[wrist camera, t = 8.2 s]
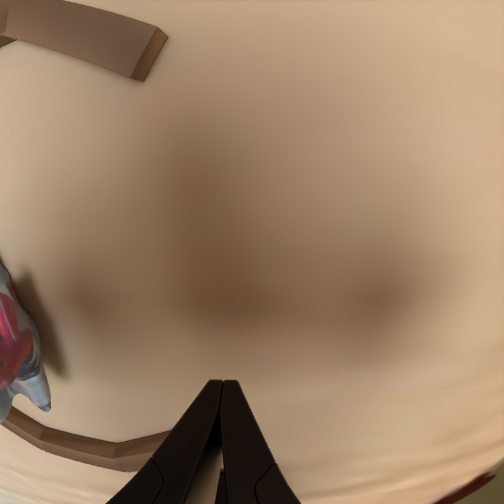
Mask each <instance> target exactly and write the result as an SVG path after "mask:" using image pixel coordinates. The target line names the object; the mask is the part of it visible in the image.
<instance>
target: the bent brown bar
mask: <svg viewBox="0 0 504 504" xmlns="http://www.w3.org/2000/svg"><path fill="white" fill-rule="evenodd" d="M167 38H168V36H167V35H166V34H165V33H164V32H163V31H161V30H160V29H159V28H158V27H156V26H153V25H150V24H147V23H144V22H141V21H138V20H135V19H132V18H129V17H126V16H122V15H119V14H116V13H112V12H109V11H105V10H101V9H97V8H94V7H90V6H85V5H81V4H77V3H72V2H68V1H63V0H0V47H2V46H4V45H6V44H8V43H10V42H12V41H14V40H17V39H18V40H21V41H25V42H28V43H32V44H35V45H39V46H42V47H45V48H48V49H52V50H55V51H58V52H61V53H64V54H67V55H70V56H73V57H76V58H79V59H81V60H84V61H87V62H90V63H93V64H95V65H98V66H101V67H103V68H106V69H109V70H111V71H114V72H116V73H119V74H121V75H124V76H126V77H129V78H132V79H136V80H140V81H143V82H144V80H145V78H146V76H147V74H148V72H149V70H150V68H151V66H152V64H153V63H154V61H155V59H156V57H157V55H158V53H159V52H160V50H161V48H162V46H163V45H164V43H165V41H166V39H167ZM1 425H3V426H4V427H6V428H7V429H9V430H10V431H12V432H13V433H15V434H16V435H18V436H19V437H21V438H23V439H24V440H26V441H28V442H29V443H31V444H33V445H34V446H36V447H38V448H39V449H41V450H44V451H45V452H48V453H51V454H54V455H58V456H61V457H64V458H68V459H71V460H75V461H78V462H82V463H86V464H90V465H94V466H98V467H103V468H107V469H112V470H117V471H122V472H126V471H127V472H135V471H139V470H140V469H141V468H142V467H143V466H144V464H145V463H146V462H147V461H148V459H149V458H150V457H152V454H153V453H154V452H155V451H156V449H157V448H158V447H159V446H160V444H161V443H162V442H163V440H164V439H165V438H166V437H167V435H168V434H169V433H170V431H168V432H164V433H160V434H156V435H152V436H148V437H144V438H140V439H135V440H131V441H126V442H122V443H112V442H107V441H102V440H97V439H92V438H87V437H83V436H79V435H74V434H70V433H66V432H63V431H59V430H55V429H52V428H48V427H45V426H43V425H41V424H40V423H38V422H36V421H35V420H33V419H31V418H30V417H28V416H26V415H25V414H23V413H22V412H20V411H19V410H17V409H15V408H14V407H12V406H11V409H10V411H9V414H8V416H7V418H6V420H5V421H4V422H3V423H2V424H1ZM152 458H153V457H152Z"/></svg>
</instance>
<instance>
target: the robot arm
mask: <svg viewBox="0 0 504 504" xmlns="http://www.w3.org/2000/svg"><path fill="white" fill-rule="evenodd" d="M152 457H153V458H152ZM152 457H150V458H149V459H148V461H147V462H146V463H145V464H144V466H143V467H142V468H141V469H140V470H139V471H138V473H137V474H136V475H135V476H134V477H133V478H132V479H131V480H130V481H129V482H128V483H127V484H126V485H125V486H124V487H123V488H122V489H121V490H120V491H119V492H118V493H117V494H116V495H114V496H113V497H112V498H111V499H110V500H109V501H108V502H107V503H106V504H301V503H300V501H299V500H298V499H297V497H296V496H295V494H294V493H293V491H292V490H291V488H290V487H289V485H288V484H287V482H286V480H285V478H284V476H283V475H282V473H281V471H280V469H279V467H278V465H277V463H275V459H274V457H273V455H272V453H271V451H270V449H269V447H268V445H267V443H266V441H265V439H264V437H263V434H262V432H261V430H260V428H259V426H258V424H257V422H256V420H255V417H254V415H253V413H252V411H251V409H250V407H249V404H248V402H247V400H246V398H245V396H244V393H243V391H242V389H241V387H240V384H239V382H238V381H237V380H224V381H223V380H209V381H208V382H207V384H206V385H205V386H204V388H203V389H202V390H201V392H200V393H199V395H198V396H197V397H196V399H195V400H194V401H193V403H192V404H191V405H190V406H189V408H188V409H187V410H186V412H185V413H184V414H183V416H182V417H181V418H180V420H179V421H178V422H177V424H176V425H175V426H174V427H173V429H172V430H171V431H170V433H169V434H168V435H167V437H166V438H165V439H164V440H163V442H162V443H161V444H160V446H159V447H158V448H157V449H156V451H155V452H154V453H153V454H152ZM222 457H223V464H224V473H220V469H221V463H222Z"/></svg>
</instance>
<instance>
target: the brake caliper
mask: <svg viewBox="0 0 504 504" xmlns="http://www.w3.org/2000/svg"><path fill="white" fill-rule="evenodd" d="M18 393H21V394H23V395H25V396H26V397H28V398H29V399H30V400H31V402H32V403H33V404H35V405H36V406H37V407H39V408H40V409H41V410H43V411H46V412H49V411H50V409H51V394H50V389H49V385H48V381H47V377H46V374H45V370H44V367H43V363H42V358H41V339H40V334H39V331H38V329H37V327H36V325H35V322H34V320H33V318H32V317H31V316H30V314H28V313H27V312H26V311H25V310H24V309H23V308H22V307H21V305H20V303H19V300H18V298H17V295H16V293H15V291H14V288H13V286H12V284H11V281H10V276H9V273H8V271H7V270H6V268H5V267H4V266H3V265H2V264H1V262H0V424H2V423H3V422H4V421H5V420H6V418H7V416H8V414H9V411H10V409H11V405H12V400H13V397H14V396H15V395H16V394H18Z"/></svg>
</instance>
